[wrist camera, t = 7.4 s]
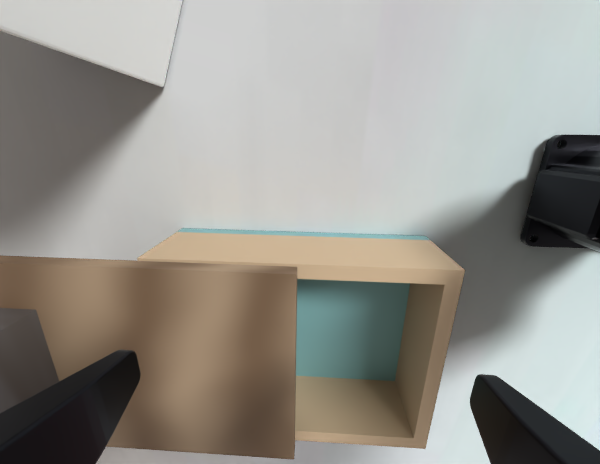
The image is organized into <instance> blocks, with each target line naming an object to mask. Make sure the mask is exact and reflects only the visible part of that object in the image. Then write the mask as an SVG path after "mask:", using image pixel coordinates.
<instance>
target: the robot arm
mask: <svg viewBox="0 0 600 464" xmlns="http://www.w3.org/2000/svg"><path fill="white" fill-rule="evenodd" d="M559 141H560V142H561V145H560V146H559V147H558V148H557V143H558V142H559ZM532 235H533V238H532V239H531V240H529V238H530V237H531V236H532ZM521 241H522V242H523V243H524V244H526V245H528V246H539V247H569V248H590V249H593V250H595V251H598V252H600V135H555V136H553V137H551V138H550V139H549V140H548V142H547V145H546V148H545V152H544V155H543V159H542V163H541V166H540V170H539V173H538V176H537V179H536V183H535V187H534V190H533V194H532V197H531V201H530V204H529V208H528V212H527V216H526V220H525V223H524V227H523V230H522V234H521ZM140 377H141V372H140V368H139V363H138V359H137V354H136V352H135V351H133V350H123V349H121V350H117V351H115V352H113V353H111V354H109V355H108V356H106V357H104V358H102V359H100V360H98V361H96V362H94V363H93V364H91V365H89V366H87V367H85V368H83V369H81V370H80V371H78V372H76V373H74V374H72V375H70V376H68V377H67V378H65V379H63V380H61V381H59V382H57V383H55V384H53V385H52V386H50V387H48V388H46V389H44V390H42V391H40V392H39V393H37V394H35V395H33V396H31V397H29V398H27V399H26V400H24V401H22V402H20V403H18V404H16V405H14V406H12V407H11V408H9V409H7V410H5V411H3V412H1V413H0V464H96V462H97V460H98V459H99V457H100V456H101V454H102V452H103V451H104V449H105V447H106V445H107V444H108V442H109V440H110V438H111V436H112V435H113V433H114V431H115V429H116V427H117V425H118V423H119V421H120V419H121V417H122V415H123V413H124V411H125V409H126V407H127V405H128V403H129V401H130V399H131V397H132V395H133V393H134V392H135V390H136V388H137V386H138V384H139V381H140ZM470 406H471V410H472V413H473V415H474V418H475V421H476V424H477V427H478V429H479V432H480V435H481V438H482V441H483V443H484V446H485V449H486V452H487V454H488V457H489V460H490V463H491V464H600V451H599V450H598V449H597V448H595V447H594V446H593V445H591V444H590V443H588V442H587V441H586V440H584V439H583V438H581V437H580V436H579V435H577V434H576V433H575V432H573V431H572V430H570V429H569V428H568V427H566V426H565V425H564V424H562V423H561V422H559V421H558V420H557V419H555V418H554V417H553V416H551V415H550V414H548V413H547V412H546V411H544V410H543V409H542V408H540V407H539V406H537V405H536V404H535V403H533V402H532V401H531V400H529V399H528V398H526V397H525V396H524V395H522V394H521V393H519V392H518V391H517V390H515V389H514V388H513V387H511V386H510V385H508V384H507V383H506V382H504V381H503V380H502V379H500V378H499V377H497V376H494V375H482V374H480V375H478V376H477V377H476V379H475V382H474V386H473V390H472V393H471V397H470Z"/></svg>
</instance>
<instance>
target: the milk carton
mask: <svg viewBox="0 0 600 464" xmlns="http://www.w3.org/2000/svg"><path fill="white" fill-rule="evenodd" d="M182 1H183V0H0V31H2V32H5V33H8V34H11V35H14V36H16V37H19V38H22V39H25V40H28V41H31V42H34V43H36V44H39V45H42V46H45V47H48V48H51V49H54V50H57V51H59V52H62V53H65V54H68V55H71V56H74V57H77V58H79V59H82V60H85V61H88V62H91V63H94V64H97V65H100V66H102V67H105V68H108V69H111V70H114V71H117V72H120V73H122V74H125V75H128V76H131V77H134V78H137V79H140V80H143V81H145V82H148V83H151V84H154V85H157V86H160V87H164V84H165V79H166V75H167V70H168V66H169V61H170V56H171V52H172V47H173V43H174V38H175V33H176V29H177V24H178V20H179V15H180V10H181V6H182Z"/></svg>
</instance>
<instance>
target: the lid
mask: <svg viewBox="0 0 600 464" xmlns="http://www.w3.org/2000/svg"><path fill="white" fill-rule="evenodd" d="M296 336H297V267H290V266H263V265H237V264H210V263H183V262H156V261H130V260H103V259H76V258H49V257H23V256H0V413H1V412H3V411H5V410H7V409H9V408H11V407H12V406H14V405H16V404H18V403H20V402H22V401H24V400H26V399H27V398H29V397H31V396H33V395H35V394H37V393H39V392H40V391H42V390H44V389H46V388H48V387H50V386H52V385H53V384H55V383H57V382H59V381H61V380H63V379H65V378H67V377H68V376H70V375H72V374H74V373H76V372H78V371H80V370H81V369H83V368H85V367H87V366H89V365H91V364H93V363H94V362H96V361H98V360H100V359H102V358H104V357H106V356H108V355H109V354H111V353H113V352H115V351H117V350H121V349H123V350H133V351H135V352H136V354H137V359H138V363H139V368H140V372H141V377H140V381H139V384H138V386H137V388H136V390H135V392H134V393H133V395H132V397H131V399H130V401H129V403H128V405H127V407H126V409H125V411H124V413H123V415H122V417H121V419H120V421H119V423H118V425H117V427H116V429H115V431H114V433H113V435H112V436H111V438H110V440H109V442H108V444H107V445H106V446H107V447H122V448H136V449H151V450H165V451H180V452H194V453H209V454H223V455H238V456H252V457H267V458H281V459H294V452H295V406H296Z"/></svg>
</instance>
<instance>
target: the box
mask: <svg viewBox="0 0 600 464" xmlns="http://www.w3.org/2000/svg"><path fill="white" fill-rule="evenodd" d="M137 259H138V261H156V262H183V263H210V264H237V265H263V266H290V267H297V336H296V406H295V440H301V441H316V442H331V443H346V444H361V445H377V446H392V447H407V448H422V449H425V448H426V443H427V439H428V434H429V430H430V425H431V421H432V416H433V412H434V408H435V403H436V399H437V394H438V390H439V385H440V381H441V376H442V372H443V367H444V363H445V358H446V354H447V349H448V345H449V340H450V336H451V331H452V327H453V322H454V318H455V313H456V309H457V304H458V300H459V295H460V291H461V286H462V282H463V277H464V273H465V270H464V269H463V268H462V267H461V266H460V265H458V264H457V263H456V262H455V261H454V260H453V259H451V258H450V257H449V256H448V255H447V254H446V253H445V252H443V251H442V250H441V249H440V248H439V247H438V246H436V245H435V244H434V243H433V242H432V241H431V240H430V239H428V238H427V237H426V236H410V235H378V234H347V233H315V232H283V231H252V230H220V229H189V228H182V229H181V230H179V231H178V232H176V233H175V234H173V235H172V236H170V237H169V238H167V239H166V240H164V241H163V242H161V243H160V244H158V245H157V246H155V247H154V248H152V249H150V250H149V251H147V252H146V253H144V254H143V255H141V256H140V257H138V258H137Z"/></svg>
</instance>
